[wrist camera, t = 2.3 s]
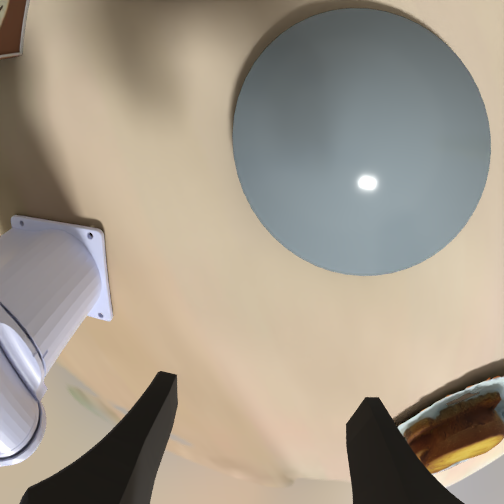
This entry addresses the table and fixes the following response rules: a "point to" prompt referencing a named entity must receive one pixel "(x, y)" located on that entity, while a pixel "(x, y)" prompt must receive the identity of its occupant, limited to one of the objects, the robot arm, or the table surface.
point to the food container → (12, 27)
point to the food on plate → (458, 426)
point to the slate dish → (361, 141)
